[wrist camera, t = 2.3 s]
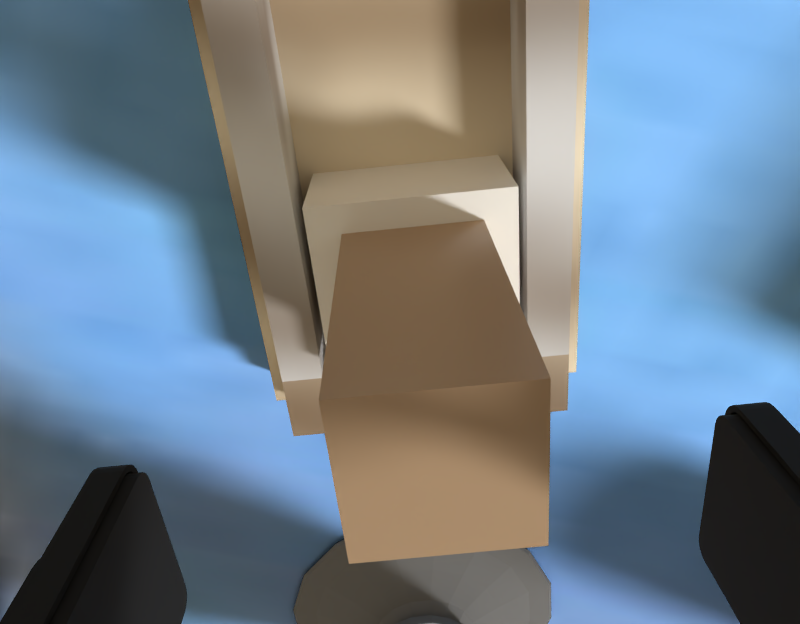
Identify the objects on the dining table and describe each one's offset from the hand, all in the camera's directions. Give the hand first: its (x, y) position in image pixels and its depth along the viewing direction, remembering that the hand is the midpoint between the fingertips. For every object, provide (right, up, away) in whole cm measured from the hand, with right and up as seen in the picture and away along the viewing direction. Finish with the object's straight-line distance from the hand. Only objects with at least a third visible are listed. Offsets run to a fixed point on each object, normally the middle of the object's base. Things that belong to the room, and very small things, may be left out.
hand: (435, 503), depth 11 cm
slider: (0, +5, +9) cm, 10 cm away
